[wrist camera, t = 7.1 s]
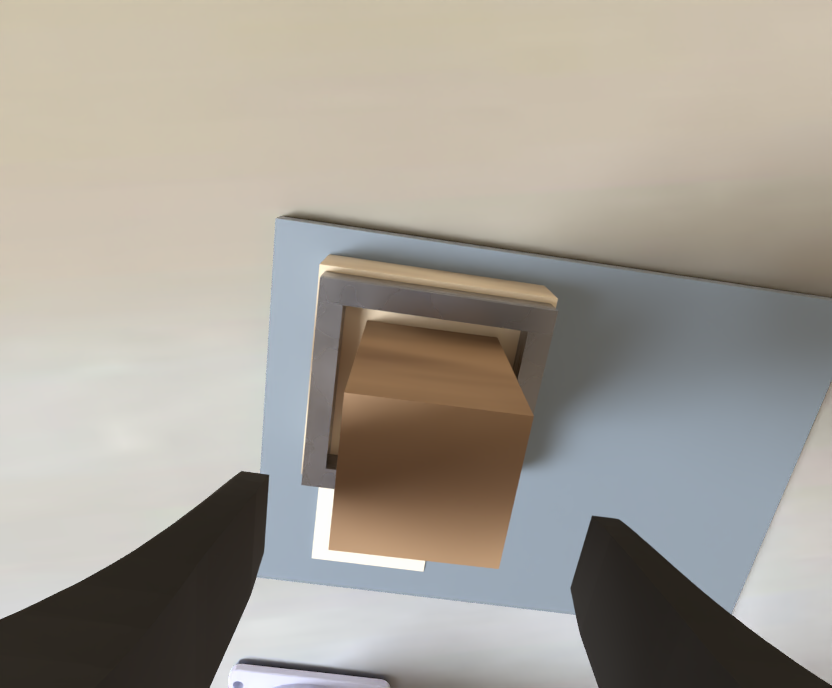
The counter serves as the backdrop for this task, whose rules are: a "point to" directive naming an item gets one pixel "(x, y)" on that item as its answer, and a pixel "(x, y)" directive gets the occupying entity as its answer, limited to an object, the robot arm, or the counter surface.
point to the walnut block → (429, 447)
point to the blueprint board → (549, 405)
